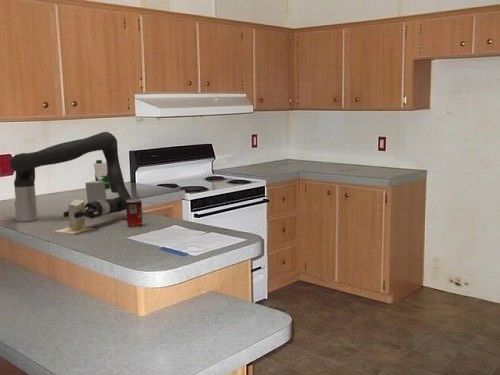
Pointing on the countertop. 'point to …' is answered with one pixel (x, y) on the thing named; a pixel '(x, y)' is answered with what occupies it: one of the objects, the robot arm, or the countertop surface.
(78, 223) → the skincare box
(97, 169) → the milk carton
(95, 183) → the skincare box
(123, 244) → the countertop surface
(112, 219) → the countertop surface
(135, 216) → the soda can
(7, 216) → the countertop surface
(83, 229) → the notepad
